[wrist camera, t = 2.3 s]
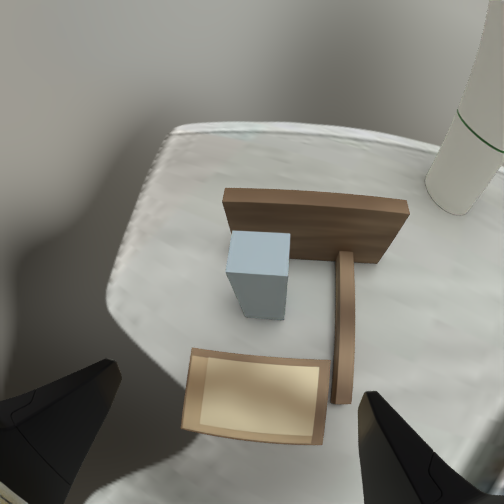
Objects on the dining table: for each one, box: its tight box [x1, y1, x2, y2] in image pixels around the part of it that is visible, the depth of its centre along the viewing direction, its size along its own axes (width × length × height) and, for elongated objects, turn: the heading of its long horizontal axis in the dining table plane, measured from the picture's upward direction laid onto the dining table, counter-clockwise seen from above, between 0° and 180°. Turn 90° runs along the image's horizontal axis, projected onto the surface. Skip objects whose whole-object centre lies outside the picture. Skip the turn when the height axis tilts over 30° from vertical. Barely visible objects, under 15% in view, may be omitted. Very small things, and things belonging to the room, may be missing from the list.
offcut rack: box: [181, 188, 410, 445], centre depth 18 cm, size 17×16×8 cm
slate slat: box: [226, 231, 290, 320], centre depth 19 cm, size 2×3×10 cm
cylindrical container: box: [425, 0, 504, 215], centre depth 16 cm, size 7×7×25 cm
